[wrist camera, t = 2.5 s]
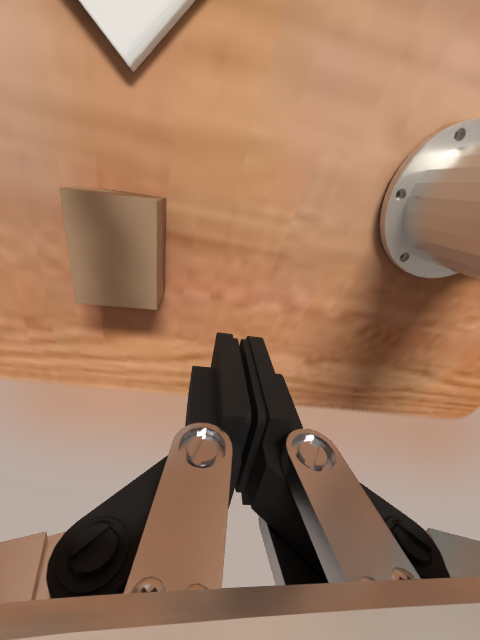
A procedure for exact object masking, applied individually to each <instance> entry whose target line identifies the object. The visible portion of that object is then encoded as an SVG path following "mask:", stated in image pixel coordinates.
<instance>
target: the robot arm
mask: <svg viewBox="0 0 480 640" xmlns="http://www.w3.org/2000/svg"><path fill="white" fill-rule="evenodd" d="M396 193H397V195H396ZM380 235H381V240H382V244H383V247H384V250H385V252H386V253H387V255H388V257H389V258H390V260H391V261H392V262H393V263H394V264H395V265H396V266H397V267H399V268H400V269H402V270H404V271H405V272H407V273H410V274H412V275H415V276H418V277H423V278H441V277H446V276H451V275H454V274H456V273H462V274H464V275H467V276H470V277H473V278H475V279H478V280H480V118H479V119H470V120H466V121H462V122H459V123H455V124H452V125H450V126H448V127H446V128H443V129H441V130H439V131H438V132H436V133H435V134H433V135H431V136H430V137H428V138H427V139H425V140H424V141H423V142H422V143H421V144H420V145H419V146H418V147H417V148H415V149H414V150H413V151H412V152H411V153H410V155H409V156H408V157H407V158H406V160H405V161H404V162H403V163H402V164H401V166H400V167H399V169H398V171H397V172H396V174H395V175H394V177H393V179H392V180H391V183H390V185H389V187H388V190H387V192H386V194H385V197H384V201H383V205H382V209H381V215H380ZM234 488H235V490H236V492H241V494H242V503H243V505H251V508H252V509H253V510H254V511H255V512H256V513H257V514H258V515H259V525H260V530H261V534H262V537H263V541H264V545H265V548H266V552H267V555H268V559H269V562H270V566H271V570H272V573H273V577H274V580H275V584H276V586H260V587H241V588H222V578H223V565H224V553H225V540H226V527H227V515H228V509H229V505H230V502H231V498H232V495H233V492H234ZM0 640H480V541H477V540H473V539H469V538H465V537H461V536H458V535H454V534H450V533H446V532H442V531H438V530H435V529H430V528H428V529H427V530H426V531H425V530H424V529H423V528H421V527H420V526H419V525H418V524H417V523H415V522H414V521H413V520H412V519H410V518H409V517H407V516H406V515H405V514H403V513H401V512H400V511H399V510H397V509H396V508H395V507H393V506H392V505H390V504H389V503H388V502H386V501H385V500H384V499H382V498H381V497H379V496H378V495H376V494H375V493H374V492H372V491H371V490H370V489H368V488H367V487H365V486H364V485H363V484H361V483H360V482H358V480H357V479H356V477H355V475H354V474H353V472H352V471H351V469H350V468H349V466H348V464H347V463H346V461H345V460H344V458H343V457H342V455H341V454H340V452H339V451H338V449H337V448H336V447H335V445H334V444H333V443H332V441H330V440H329V439H328V438H327V437H325V436H324V435H322V434H320V433H318V432H317V431H313V430H310V429H303V427H302V424H301V421H300V419H299V416H298V414H297V411H296V408H295V406H294V403H293V401H292V398H291V396H290V393H289V390H288V388H287V385H286V383H285V380H284V378H283V376H282V375H281V374H275V371H274V368H273V366H272V363H271V360H270V357H269V354H268V351H267V349H266V346H265V343H264V340H263V338H260V337H252V336H247V338H246V340H244V339H242V340H241V342H240V346H239V343H238V339H236V338H233V335H232V334H226V333H218V332H217V335H216V340H215V346H214V352H213V357H212V363H211V368H210V367H200V366H193V367H192V373H191V380H190V387H189V395H188V403H187V414H186V425H185V427H184V428H182V429H181V430H180V431H179V432H178V433H177V434H176V436H175V438H174V440H173V442H172V445H171V448H170V451H169V454H168V456H166V457H165V458H163V459H162V460H161V461H160V462H158V463H157V464H155V465H154V466H153V467H151V468H150V469H148V470H147V471H146V472H144V473H143V474H142V475H140V476H139V477H138V478H136V479H135V480H133V481H132V482H131V483H129V484H128V485H127V486H125V487H124V488H123V489H121V490H120V491H118V492H117V493H116V494H114V495H113V496H112V497H110V498H109V499H107V500H106V501H105V502H103V503H102V504H101V505H99V506H98V507H97V508H95V509H94V510H92V511H91V512H90V513H88V514H87V515H86V516H84V517H83V518H82V519H80V520H79V521H77V522H76V523H75V524H74V525H73V526H72V527H71V528H70V529H69V530H67V532H63V533H59V534H55V535H51V536H47V533H46V532H42V533H38V534H34V535H30V536H26V537H21V538H17V539H12V540H8V541H4V542H0Z"/></svg>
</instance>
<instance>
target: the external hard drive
mask: <svg viewBox="0 0 480 640" xmlns="http://www.w3.org/2000/svg"><path fill="white" fill-rule="evenodd" d="M195 1H196V0H79V2H80V3H81V4H82V6H83V7H84V8H85V10H86V11H87V12H88V14H89V15H90V16H91V18H92V19H93V20H94V21H95V23H96V24H97V25H98V27H99V28H100V29H101V31H102V32H103V33H104V35H105V36H106V37H107V39H108V40H109V41H110V43H111V44H112V45H113V46H114V48H115V49H116V50H117V52H118V53H119V54H120V56H121V57H122V58H123V60H124V61H125V62H126V64H127V65H128V66H129V68H130V69H131V70H132V72H134V71H135V70H136V69H137V68H138V66H139V65H140V64H141V63H142V62H143V61H144V60H145V58H146V57H147V56H148V55H149V54H150V53H151V52H152V51H153V49H154V48H155V47H156V46H157V45H158V43H159V42H160V41H161V40H162V39H163V38H164V36H165V35H166V34H167V33H168V32H169V31H170V29H171V28H172V27H173V26H174V25H175V24H176V23H177V21H178V20H179V19H180V18H181V17H182V16H183V14H184V13H185V12H186V11H187V10H188V9H189V8H190V6H191V5H192V4H193V3H194V2H195Z"/></svg>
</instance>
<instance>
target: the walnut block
mask: <svg viewBox="0 0 480 640" xmlns="http://www.w3.org/2000/svg"><path fill="white" fill-rule="evenodd" d="M60 195H61V203H62V210H63V217H64V225H65V232H66V239H67V247H68V254H69V261H70V268H71V276H72V283H73V290H74V298H75V303H78V304H90V305H102V306H115V307H127V308H139V309H152V310H157V308H158V305H159V303H160V301H161V298H162V296H163V294H164V291H165V243H166V198H165V197H158V196H151V195H143V194H136V193H129V192H122V191H115V190H107V189H100V188H93V187H60Z"/></svg>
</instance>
